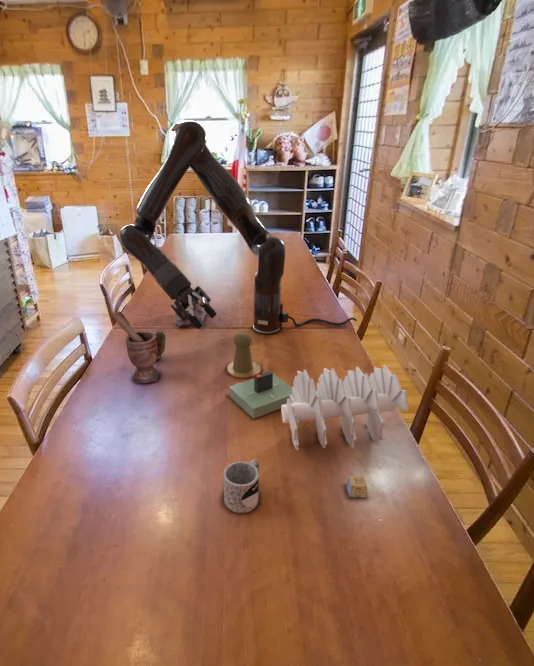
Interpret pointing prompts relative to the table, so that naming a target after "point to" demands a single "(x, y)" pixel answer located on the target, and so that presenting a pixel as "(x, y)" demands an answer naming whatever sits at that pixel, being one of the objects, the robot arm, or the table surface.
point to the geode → (198, 313)
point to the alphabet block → (356, 486)
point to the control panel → (260, 397)
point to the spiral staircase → (344, 401)
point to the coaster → (252, 373)
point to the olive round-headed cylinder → (242, 353)
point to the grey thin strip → (241, 486)
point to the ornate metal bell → (160, 344)
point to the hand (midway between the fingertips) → (207, 321)
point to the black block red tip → (263, 381)
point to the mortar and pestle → (140, 350)
